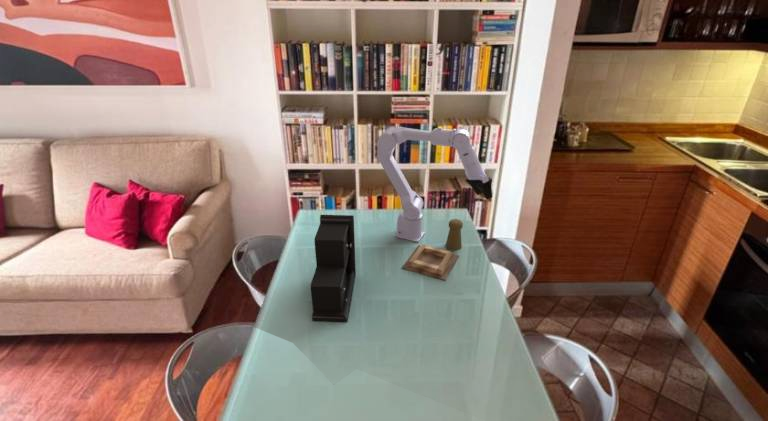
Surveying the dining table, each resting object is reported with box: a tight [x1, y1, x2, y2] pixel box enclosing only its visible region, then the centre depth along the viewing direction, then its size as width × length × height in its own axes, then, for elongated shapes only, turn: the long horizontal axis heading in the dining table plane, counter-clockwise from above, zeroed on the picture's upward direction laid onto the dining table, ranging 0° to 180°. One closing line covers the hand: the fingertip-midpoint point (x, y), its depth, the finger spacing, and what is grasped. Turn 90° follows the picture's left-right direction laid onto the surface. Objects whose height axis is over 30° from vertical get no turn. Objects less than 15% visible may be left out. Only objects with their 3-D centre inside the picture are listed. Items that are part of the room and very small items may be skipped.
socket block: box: [401, 243, 460, 281], centre depth 146 cm, size 16×16×2 cm
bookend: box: [310, 214, 357, 323], centre depth 124 cm, size 23×11×24 cm, turn 177°
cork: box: [445, 218, 464, 251], centre depth 153 cm, size 6×6×11 cm
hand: (484, 195), depth 147 cm, fingers open, 7 cm apart
